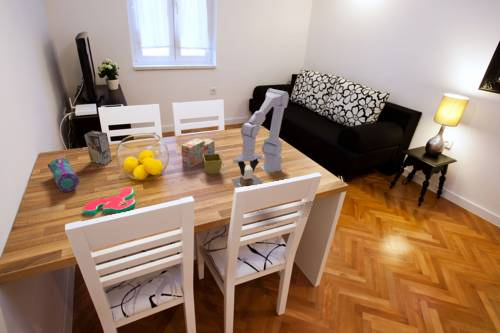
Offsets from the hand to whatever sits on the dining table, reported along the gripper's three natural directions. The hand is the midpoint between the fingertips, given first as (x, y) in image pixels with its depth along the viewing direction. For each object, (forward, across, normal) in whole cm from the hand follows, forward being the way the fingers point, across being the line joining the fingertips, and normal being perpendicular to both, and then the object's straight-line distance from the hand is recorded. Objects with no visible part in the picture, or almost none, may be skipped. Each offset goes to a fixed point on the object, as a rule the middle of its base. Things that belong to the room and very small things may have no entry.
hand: (247, 173), depth 135 cm
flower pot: (+7, +11, -19) cm, 23 cm away
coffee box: (+7, +63, -52) cm, 82 cm away
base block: (+7, 0, 0) cm, 7 cm away
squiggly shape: (+8, +61, -8) cm, 62 cm away
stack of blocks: (+7, +13, -36) cm, 39 cm away
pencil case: (+7, +79, -34) cm, 86 cm away
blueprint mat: (+7, -2, -1) cm, 7 cm away
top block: (+2, 0, 0) cm, 2 cm away
